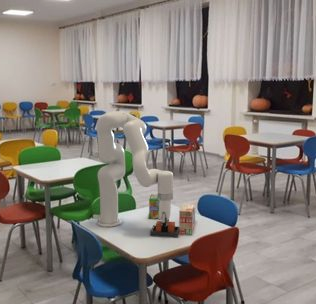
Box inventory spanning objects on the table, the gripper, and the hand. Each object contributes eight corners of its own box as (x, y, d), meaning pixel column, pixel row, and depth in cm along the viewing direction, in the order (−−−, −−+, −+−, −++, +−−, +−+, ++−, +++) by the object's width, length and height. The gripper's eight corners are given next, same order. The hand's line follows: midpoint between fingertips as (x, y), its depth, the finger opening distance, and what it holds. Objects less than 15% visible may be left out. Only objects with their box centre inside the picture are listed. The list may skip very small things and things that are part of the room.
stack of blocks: (183, 220, 230) (183, 198, 227) (195, 221, 228) (195, 199, 226) (179, 234, 209) (179, 210, 207) (191, 235, 208) (192, 211, 206)
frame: (150, 235, 207) (150, 231, 207) (153, 229, 217) (153, 225, 216) (177, 237, 205) (177, 233, 204) (179, 230, 214) (179, 226, 214)
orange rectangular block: (155, 232, 209) (155, 224, 208) (157, 229, 214) (157, 220, 213) (173, 233, 207) (173, 225, 207) (174, 230, 212) (174, 221, 211)
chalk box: (150, 213, 241) (150, 188, 239) (166, 214, 240) (166, 189, 238) (148, 218, 232) (148, 192, 230) (165, 219, 231) (165, 193, 229)
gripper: (160, 191, 216) (160, 225, 220) (155, 200, 200) (155, 236, 203) (174, 191, 215) (174, 225, 218) (170, 201, 199) (170, 237, 202)
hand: (165, 230), depth 211 cm, fingers closed on orange rectangular block, 5 cm apart
